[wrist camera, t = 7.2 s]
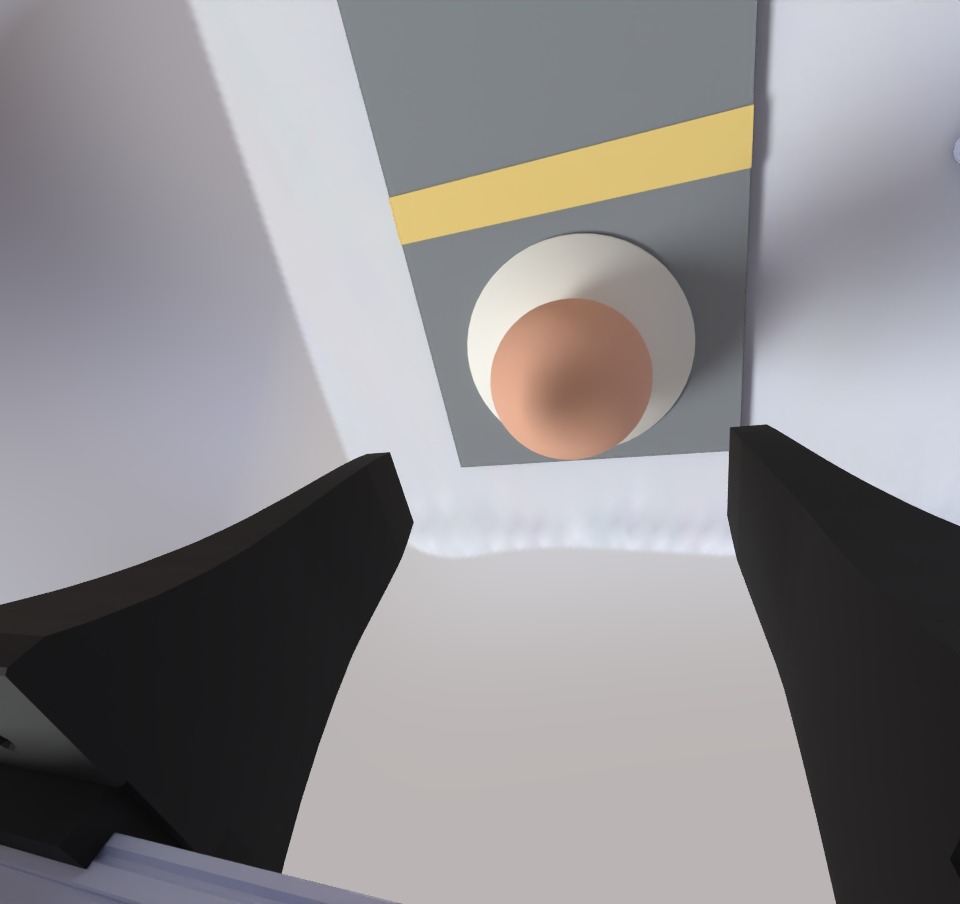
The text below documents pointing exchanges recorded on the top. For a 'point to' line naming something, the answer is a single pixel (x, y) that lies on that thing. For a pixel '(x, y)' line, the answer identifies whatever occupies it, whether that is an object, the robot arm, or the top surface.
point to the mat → (566, 170)
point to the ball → (571, 379)
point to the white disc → (599, 277)
